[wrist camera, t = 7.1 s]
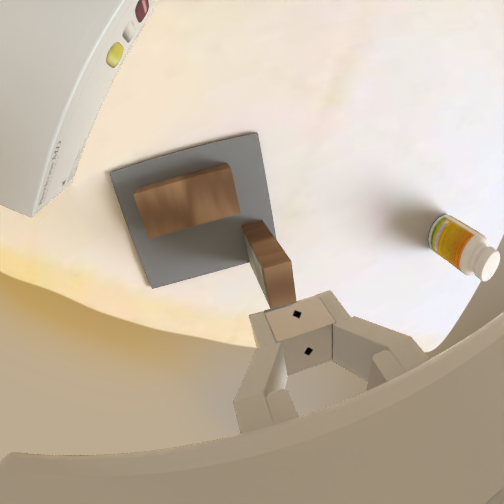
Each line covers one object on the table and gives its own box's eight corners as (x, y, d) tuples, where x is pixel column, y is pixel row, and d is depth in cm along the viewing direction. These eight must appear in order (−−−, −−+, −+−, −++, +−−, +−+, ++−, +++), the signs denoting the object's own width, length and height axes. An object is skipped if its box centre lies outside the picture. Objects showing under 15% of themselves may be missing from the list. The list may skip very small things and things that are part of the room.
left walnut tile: (227, 163, 25) (136, 188, 24) (231, 167, 24) (133, 194, 23) (236, 205, 27) (150, 229, 26) (240, 213, 25) (148, 238, 25)
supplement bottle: (424, 253, 36) (472, 292, 28) (429, 216, 34) (484, 251, 25) (449, 246, 37) (496, 280, 29) (455, 211, 34) (507, 241, 26)
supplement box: (75, 184, 23) (33, 223, 15) (-27, 144, 18) (-86, 167, 10) (158, 10, 18) (150, -35, 10) (42, -19, 13) (-2, -52, 5)
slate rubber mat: (110, 172, 24) (109, 173, 23) (256, 132, 25) (257, 133, 25) (152, 286, 29) (152, 288, 29) (277, 252, 31) (278, 254, 30)
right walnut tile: (241, 225, 28) (263, 268, 21) (262, 220, 28) (291, 260, 22) (249, 262, 30) (271, 312, 23) (269, 256, 30) (296, 304, 23)
